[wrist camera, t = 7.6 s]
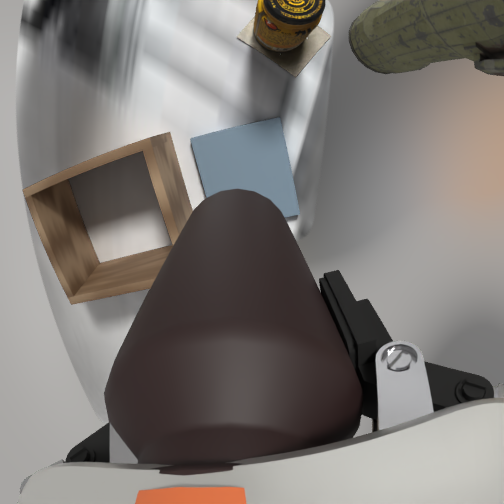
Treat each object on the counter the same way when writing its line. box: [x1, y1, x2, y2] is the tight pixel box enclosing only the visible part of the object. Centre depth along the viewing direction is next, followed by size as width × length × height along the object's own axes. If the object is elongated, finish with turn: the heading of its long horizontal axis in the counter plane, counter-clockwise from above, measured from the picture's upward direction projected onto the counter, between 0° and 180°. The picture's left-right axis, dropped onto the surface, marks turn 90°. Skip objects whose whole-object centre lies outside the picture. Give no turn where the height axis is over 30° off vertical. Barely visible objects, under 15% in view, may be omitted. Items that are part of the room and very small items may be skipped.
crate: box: [23, 132, 193, 305], centre depth 35 cm, size 15×16×9 cm
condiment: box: [237, 0, 331, 77], centre depth 26 cm, size 7×8×12 cm
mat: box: [190, 117, 300, 218], centre depth 38 cm, size 12×10×1 cm
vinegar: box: [104, 189, 364, 504], centre depth 12 cm, size 7×7×20 cm
